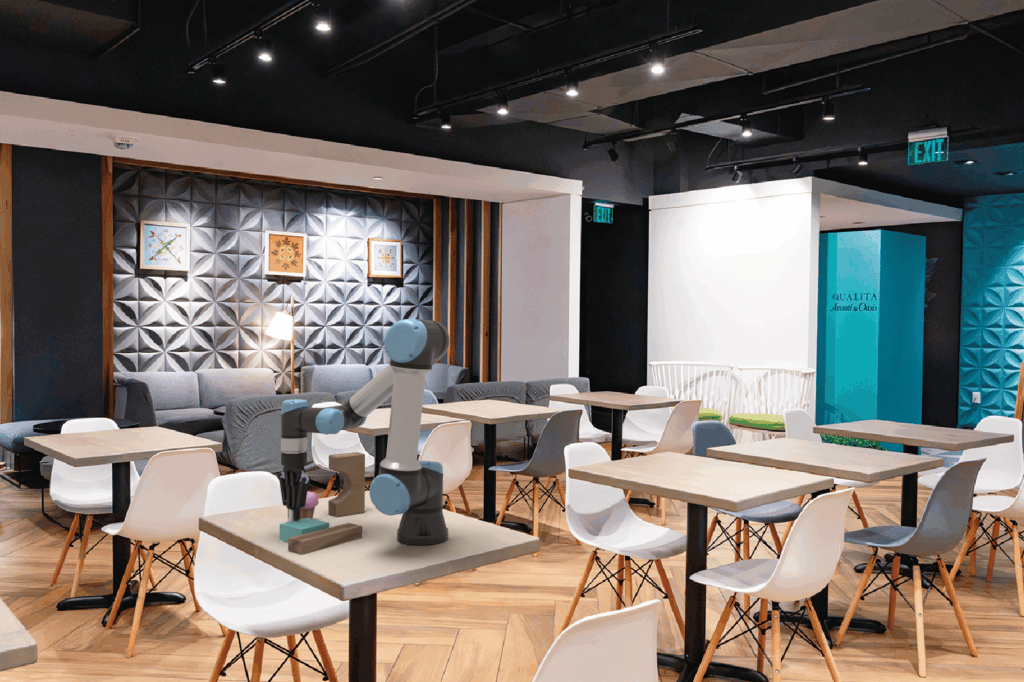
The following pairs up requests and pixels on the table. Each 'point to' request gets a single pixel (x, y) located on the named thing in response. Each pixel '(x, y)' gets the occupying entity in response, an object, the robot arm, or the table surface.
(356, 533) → the walnut board
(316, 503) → the cupcake
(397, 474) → the robot arm
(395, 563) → the table surface
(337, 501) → the decorative block
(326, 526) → the teal block
